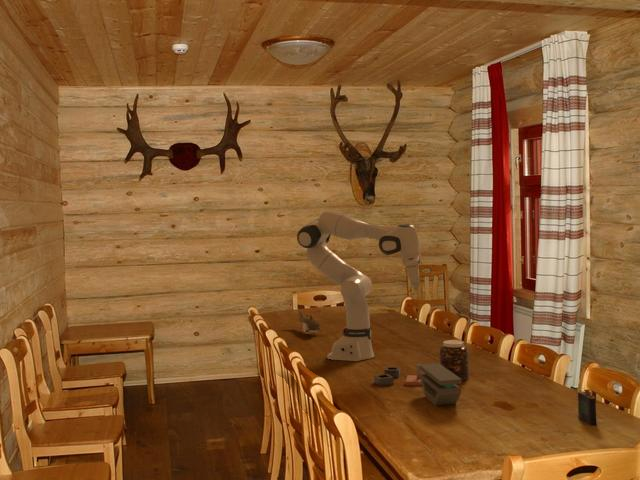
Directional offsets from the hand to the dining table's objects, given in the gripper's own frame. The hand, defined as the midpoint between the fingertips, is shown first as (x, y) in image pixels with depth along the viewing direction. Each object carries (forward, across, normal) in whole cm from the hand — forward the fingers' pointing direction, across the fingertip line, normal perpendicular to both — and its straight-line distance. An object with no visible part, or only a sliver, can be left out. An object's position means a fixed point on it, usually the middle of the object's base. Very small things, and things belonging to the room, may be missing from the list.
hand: (416, 289), depth 321 cm
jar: (+34, +28, +11) cm, 45 cm away
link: (+30, +25, -15) cm, 42 cm away
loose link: (+29, +38, -17) cm, 51 cm away
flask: (+35, +84, +53) cm, 105 cm away
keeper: (+31, +35, -3) cm, 47 cm away
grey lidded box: (+31, +61, +5) cm, 68 cm away
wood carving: (+31, -71, -69) cm, 104 cm away
